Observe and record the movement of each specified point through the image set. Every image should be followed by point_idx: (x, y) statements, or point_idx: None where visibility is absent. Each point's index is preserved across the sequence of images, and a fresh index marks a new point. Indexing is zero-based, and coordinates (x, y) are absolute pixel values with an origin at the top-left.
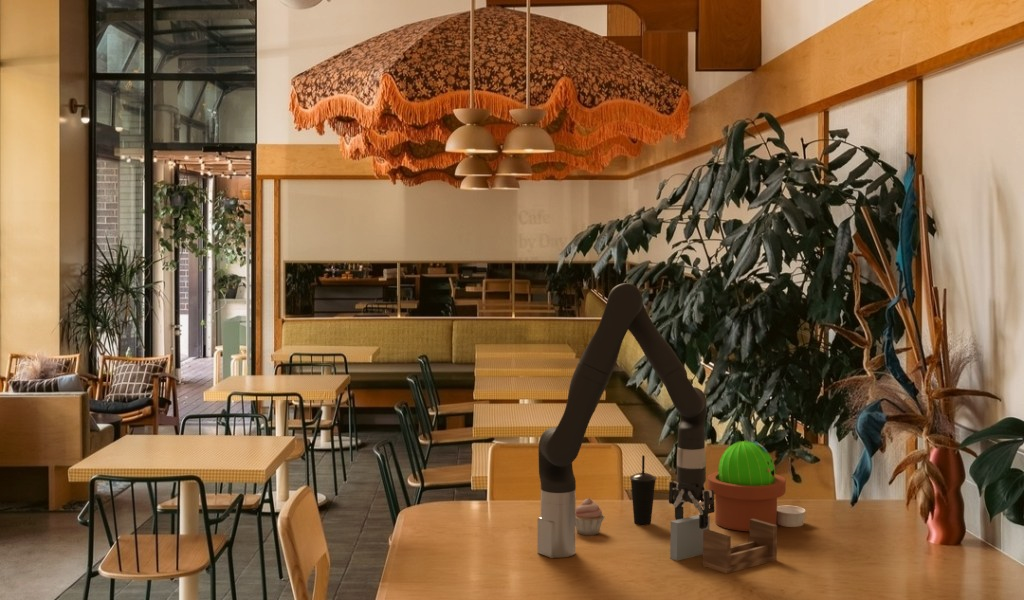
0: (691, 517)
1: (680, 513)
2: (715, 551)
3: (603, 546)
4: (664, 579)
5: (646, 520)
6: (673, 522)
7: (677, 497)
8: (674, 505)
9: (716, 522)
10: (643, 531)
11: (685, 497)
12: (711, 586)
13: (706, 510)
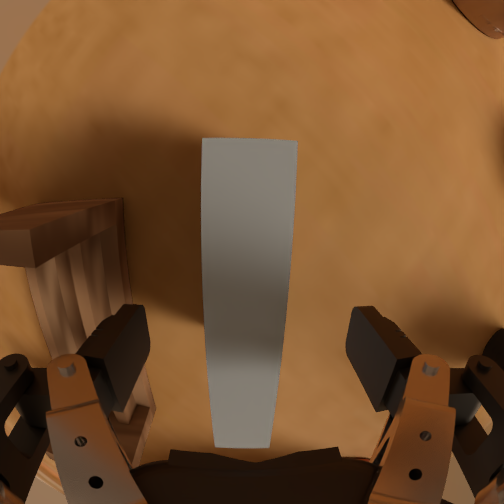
0: (258, 368)
1: (367, 358)
2: (30, 212)
3: (481, 107)
4: (116, 2)
5: (493, 350)
6: (256, 139)
7: (445, 431)
8: (435, 360)
9: (368, 460)
10: (481, 310)
11: (324, 497)
12: (9, 94)
13: (4, 372)
